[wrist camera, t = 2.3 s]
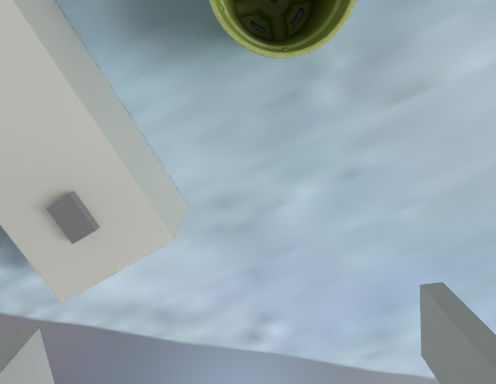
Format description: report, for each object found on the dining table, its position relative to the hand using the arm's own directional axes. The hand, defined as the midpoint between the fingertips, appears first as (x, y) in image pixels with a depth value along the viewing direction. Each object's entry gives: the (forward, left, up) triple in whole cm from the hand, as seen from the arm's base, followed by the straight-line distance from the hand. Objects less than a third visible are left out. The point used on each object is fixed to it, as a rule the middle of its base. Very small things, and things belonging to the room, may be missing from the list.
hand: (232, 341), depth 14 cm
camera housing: (-10, -10, -23) cm, 28 cm away
